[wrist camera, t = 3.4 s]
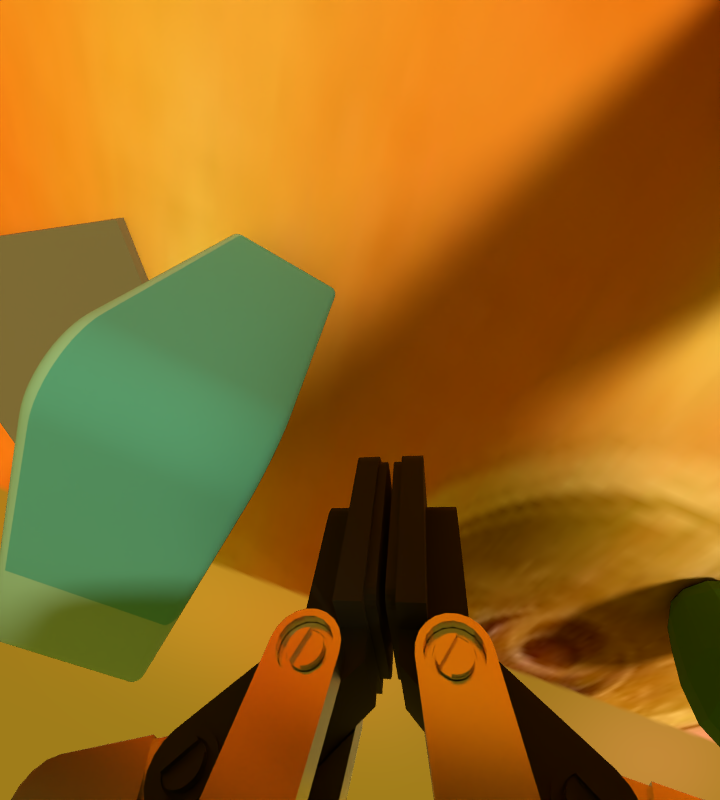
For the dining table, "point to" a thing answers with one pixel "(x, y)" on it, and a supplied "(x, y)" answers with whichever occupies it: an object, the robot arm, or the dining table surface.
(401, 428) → the dining table surface
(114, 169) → the dining table surface
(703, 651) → the bell pepper
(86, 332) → the teal square box
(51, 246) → the mat
